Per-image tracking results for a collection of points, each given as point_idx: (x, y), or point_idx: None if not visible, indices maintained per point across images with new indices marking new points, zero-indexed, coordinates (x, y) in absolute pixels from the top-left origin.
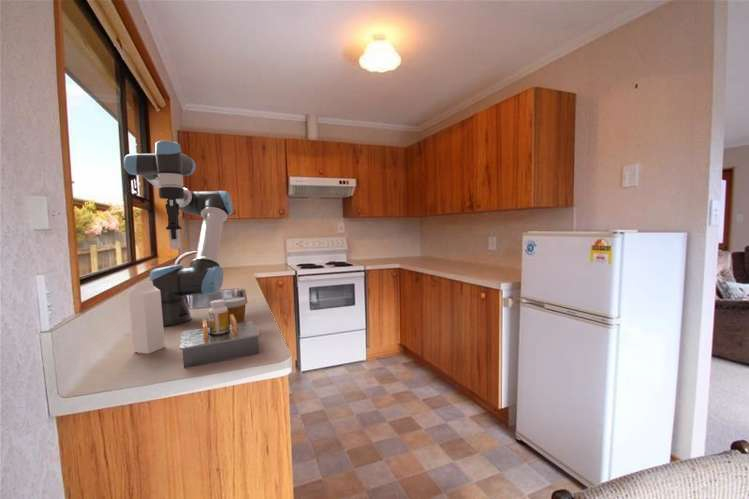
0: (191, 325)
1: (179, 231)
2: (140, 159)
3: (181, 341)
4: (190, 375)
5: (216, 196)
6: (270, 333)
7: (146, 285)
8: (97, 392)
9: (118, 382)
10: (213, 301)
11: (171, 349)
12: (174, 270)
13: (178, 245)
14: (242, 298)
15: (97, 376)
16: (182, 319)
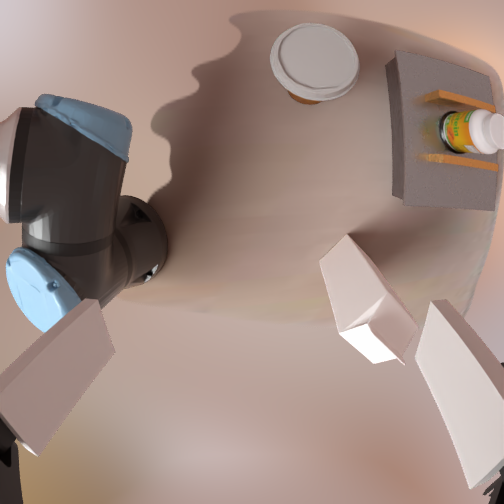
0: (187, 186)
1: (7, 387)
2: None
3: (467, 207)
4: None
5: None
6: (368, 27)
7: (383, 338)
8: (472, 296)
9: (462, 280)
10: (502, 141)
11: (370, 220)
12: (58, 272)
13: (459, 320)
14: (303, 29)
15: (423, 312)
16: (150, 212)
